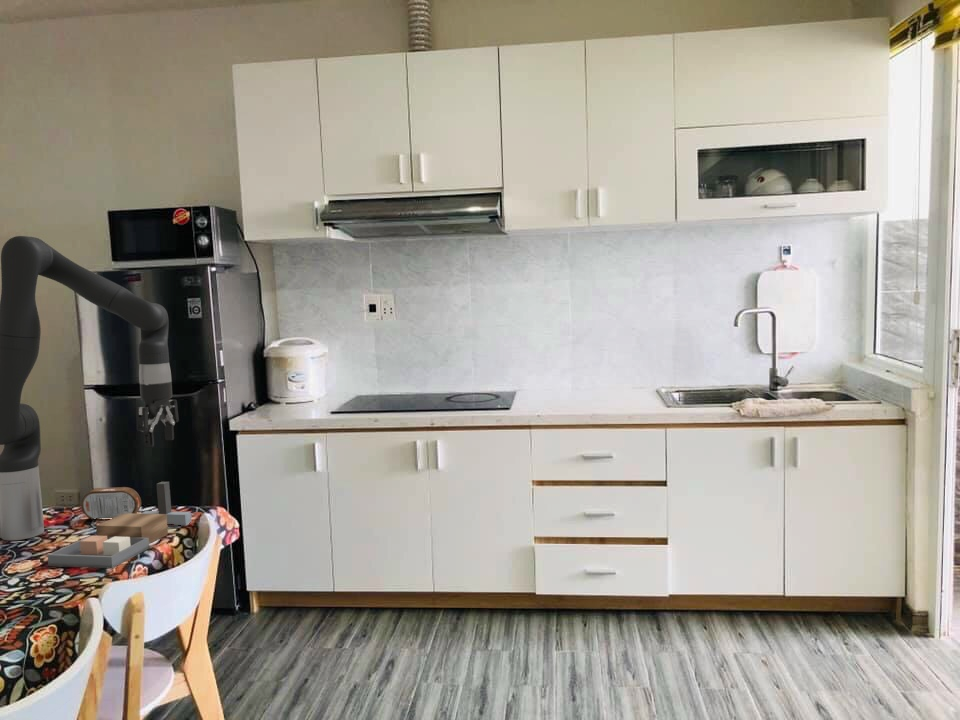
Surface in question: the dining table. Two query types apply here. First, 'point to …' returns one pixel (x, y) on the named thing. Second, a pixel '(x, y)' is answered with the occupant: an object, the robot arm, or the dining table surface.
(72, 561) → the box
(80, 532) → the dining table surface
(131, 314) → the robot arm
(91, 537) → the tile
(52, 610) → the dining table surface
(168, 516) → the grey t-shaped tool
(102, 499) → the tin
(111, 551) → the tile
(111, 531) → the tan slab
